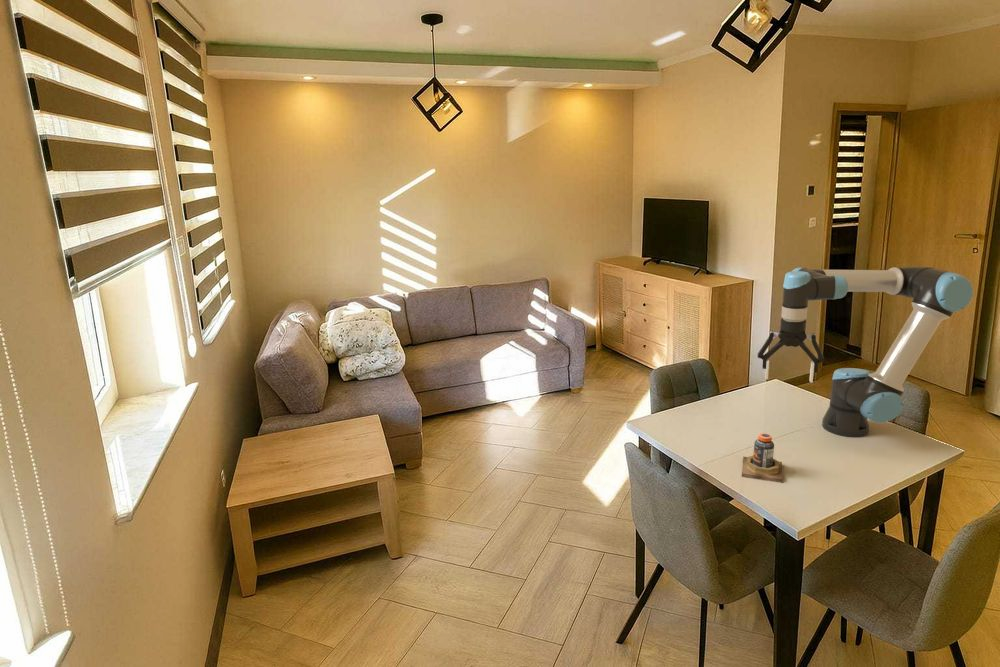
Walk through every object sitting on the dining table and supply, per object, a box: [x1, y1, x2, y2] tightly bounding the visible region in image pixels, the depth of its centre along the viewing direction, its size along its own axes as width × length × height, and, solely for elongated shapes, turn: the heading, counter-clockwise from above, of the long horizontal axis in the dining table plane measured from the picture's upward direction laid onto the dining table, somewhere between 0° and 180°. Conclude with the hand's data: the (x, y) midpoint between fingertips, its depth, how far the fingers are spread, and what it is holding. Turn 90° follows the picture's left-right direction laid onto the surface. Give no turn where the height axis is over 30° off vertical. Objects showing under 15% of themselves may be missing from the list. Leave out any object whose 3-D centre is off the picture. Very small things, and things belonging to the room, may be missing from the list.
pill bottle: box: [752, 432, 775, 468], centre depth 198 cm, size 6×6×11 cm
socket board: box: [741, 455, 784, 484], centre depth 199 cm, size 12×12×3 cm
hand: (788, 379), depth 205 cm, fingers open, 13 cm apart
